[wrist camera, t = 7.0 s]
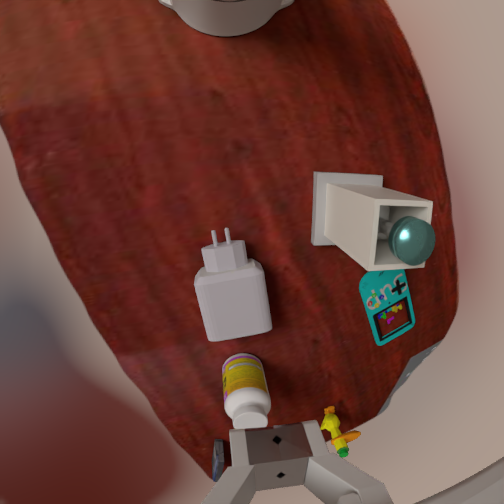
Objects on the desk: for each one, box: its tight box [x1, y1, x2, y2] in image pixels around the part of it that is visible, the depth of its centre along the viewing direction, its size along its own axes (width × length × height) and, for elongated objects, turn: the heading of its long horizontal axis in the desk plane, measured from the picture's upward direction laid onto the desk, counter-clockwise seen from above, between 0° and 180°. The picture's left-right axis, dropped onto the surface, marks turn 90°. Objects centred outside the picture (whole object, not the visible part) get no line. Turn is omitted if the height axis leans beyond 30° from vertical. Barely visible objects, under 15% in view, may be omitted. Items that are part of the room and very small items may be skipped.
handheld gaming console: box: [359, 269, 415, 346], centre depth 50 cm, size 8×1×15 cm
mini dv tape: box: [212, 439, 224, 482], centre depth 54 cm, size 8×2×6 cm, turn 170°
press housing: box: [311, 172, 433, 271], centre depth 37 cm, size 10×10×16 cm
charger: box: [194, 228, 272, 341], centre depth 44 cm, size 5×9×15 cm
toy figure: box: [320, 406, 361, 457], centre depth 51 cm, size 7×4×12 cm, turn 103°
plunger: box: [377, 205, 435, 266], centre depth 33 cm, size 5×5×12 cm
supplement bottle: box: [222, 353, 271, 430], centre depth 45 cm, size 7×7×13 cm
